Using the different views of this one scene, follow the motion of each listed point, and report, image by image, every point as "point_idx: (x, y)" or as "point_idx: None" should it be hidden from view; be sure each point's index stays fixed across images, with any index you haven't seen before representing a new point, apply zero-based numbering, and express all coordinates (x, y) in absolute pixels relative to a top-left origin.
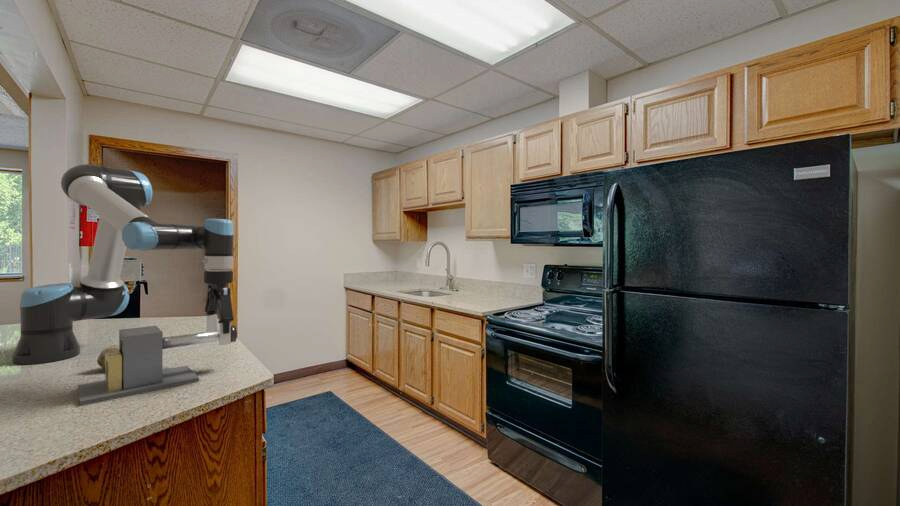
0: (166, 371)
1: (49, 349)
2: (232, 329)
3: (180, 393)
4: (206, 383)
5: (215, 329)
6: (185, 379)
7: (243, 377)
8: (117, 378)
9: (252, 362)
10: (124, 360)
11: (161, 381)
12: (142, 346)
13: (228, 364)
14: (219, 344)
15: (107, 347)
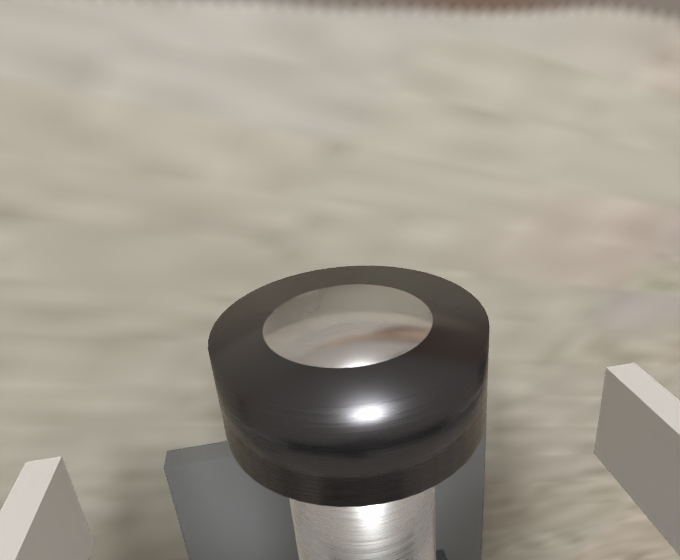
0: (240, 550)
1: None
2: (480, 404)
3: (597, 466)
4: (543, 368)
5: (36, 540)
6: (467, 468)
7: (598, 171)
8: None
9: (252, 11)
10: None
11: (446, 558)
12: None
13: (202, 210)
14: (597, 455)
15: None
